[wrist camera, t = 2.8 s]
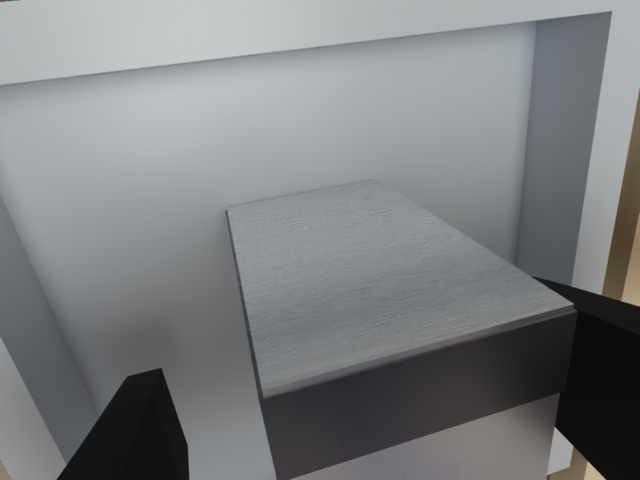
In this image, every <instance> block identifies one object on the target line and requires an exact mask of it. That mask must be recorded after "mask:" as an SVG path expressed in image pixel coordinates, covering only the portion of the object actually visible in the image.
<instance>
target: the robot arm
mask: <svg viewBox="0 0 640 480" xmlns="http://www.w3.org/2000/svg"><path fill="white" fill-rule="evenodd" d="M531 277H532V278H534V279H535V280H537V281H538V282H540V283H542V284H543V285H545V286H546V287H548V288H549V289H551V290H553V291H554V292H556V293H557V294H559V295H561V296H562V297H564V298H565V299H567V300H568V301H570V302H572V303H573V304H574V309H575V310H577V311H578V315H577V321H576V327H575V333H574V339H573V345H572V351H571V357H570V363H569V369H568V375H567V381H566V387H565V391H563V392H560V396H559V402H558V408H557V415H556V421H555V428H556V429H557V430H558V431H559V432H560V433H561V434H562V435H563V436H564V437H565V438H566V439H567V440H568V441H569V442H570V443H571V444H572V445H573V446H574V447H575V448H576V449H577V450H578V452H579V453H580V454H581V455H582V456H583V457H584V458H585V459H586V460H587V461H588V462H589V463H590V464H591V465H592V466H593V467H594V468H595V469H596V470H597V471H598V472H599V473H600V474H601V475H602V476H603V477H604V478H605V479H606V480H640V306H636V305H633V304H629V303H626V302H623V301H619V300H616V299H613V298H609V297H606V296H602V295H599V294H596V293H592V292H589V291H585V290H582V289H579V288H575V287H572V286H568V285H565V284H561V283H558V282H554V281H550V280H546V279H542V278H538V277H533V276H531ZM56 480H190V478H189V456H188V444H187V441H186V438H185V436H184V433H183V430H182V427H181V424H180V421H179V418H178V415H177V412H176V409H175V406H174V403H173V400H172V397H171V394H170V391H169V389H168V386H167V383H166V380H165V377H164V374H163V371H162V368H158V369H154V370H150V371H146V372H142V373H138V374H134V375H131V376H127V377H126V379H125V380H124V382H123V383H122V384H121V386H120V387H119V389H118V390H117V392H116V393H115V395H114V396H113V398H112V399H111V401H110V402H109V404H108V405H107V407H106V408H105V410H104V411H103V413H102V414H101V416H100V417H99V419H98V420H97V422H96V423H95V424H94V426H93V427H92V429H91V430H90V432H89V433H88V435H87V436H86V438H85V439H84V441H83V442H82V444H81V445H80V447H79V448H78V449H77V451H76V452H75V454H74V455H73V457H72V458H71V459H70V461H69V462H68V464H67V465H66V467H65V468H64V469H63V471H62V472H61V474H60V475H59V477H58V478H57V479H56Z"/></svg>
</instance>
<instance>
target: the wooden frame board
mask: <svg viewBox="0 0 640 480" xmlns="http://www.w3.org/2000/svg"><path fill="white" fill-rule="evenodd" d="M601 295H602V296H606V297H609V298H613V299H616V300H619V301H623V302H626V303H629V304H633V305H636V306H640V89H639V95H638V100H637V106H636V111H635V116H634V122H633V127H632V133H631V138H630V143H629V149H628V154H627V160H626V165H625V170H624V176H623V181H622V187H621V192H620V197H619V203H618V208H617V214H616V219H615V224H614V230H613V235H612V241H611V246H610V251H609V257H608V262H607V268H606V273H605V278H604V284H603V289H602V294H601ZM549 480H606V479H605V478H604V477H603V476H602V475H601V474H600V473H599V472H598V471H597V470H596V469H595V468H594V467H593V466H592V465H591V464H590V463H589V462H588V461H587V460H586V459H585V458H584V457H583V456H582V455H581V454H580V453H579V452H578V450H577V449H576V448H575V447H574V446H573V451H572V456H571V462H570V467H568V468H565V469H562V470H560V471H557V472H554V473H551V474H550V475H549Z"/></svg>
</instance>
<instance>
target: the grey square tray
mask: <svg viewBox="0 0 640 480" xmlns="http://www.w3.org/2000/svg"><path fill="white" fill-rule="evenodd" d="M639 89H640V0H19V1H7V2H0V460H1V462H2V464H3V465H4V467H5V469H6V470H7V472H8V474H9V475H10V477H11V479H12V480H56V479H57V478H58V477H59V475H60V474H61V472H62V471H63V469H64V468H65V467H66V465H67V464H68V462H69V461H70V459H71V458H72V457H73V455H74V454H75V452H76V451H77V449H78V448H79V447H80V445H81V444H82V442H83V441H84V439H85V438H86V436H87V435H88V433H89V432H90V430H91V429H92V427H93V426H94V424H95V423H96V422H97V420H98V419H99V417H100V416H101V414H102V413H103V411H104V410H105V408H106V407H107V405H108V404H109V402H110V401H111V399H112V398H113V396H114V395H115V393H116V392H117V390H118V389H119V387H120V386H121V384H122V383H123V382H124V380H125V379H126V377H127V376H131V375H134V374H138V373H142V372H146V371H150V370H154V369H158V368H162V371H163V374H164V377H165V380H166V383H167V386H168V389H169V391H170V394H171V397H172V400H173V403H174V406H175V409H176V412H177V415H178V418H179V421H180V424H181V427H182V430H183V433H184V436H185V438H186V441H187V444H188V456H189V478H190V480H277V478H276V474H275V469H274V465H273V461H272V456H271V452H270V447H269V443H268V439H267V434H266V430H265V426H264V421H263V417H262V412H261V408H260V404H259V399H258V393H257V387H256V382H255V376H254V370H253V365H252V359H251V354H250V348H249V342H248V337H247V331H246V325H245V320H244V314H243V308H242V303H241V297H240V291H239V286H238V280H237V274H236V269H235V263H234V257H233V252H232V246H231V240H230V235H229V229H228V224H227V218H226V212H225V211H227V206H233V205H238V204H243V203H249V202H254V201H259V200H265V199H270V198H275V197H280V196H286V195H291V194H296V193H302V192H307V191H312V190H318V189H323V188H328V187H333V186H339V185H344V184H349V183H355V182H360V181H365V180H371V179H378V180H379V181H381V182H382V183H384V184H385V185H387V186H389V187H390V188H392V189H393V190H395V191H396V192H398V193H400V194H401V195H403V196H404V197H406V198H407V199H409V200H411V201H412V202H414V203H415V204H417V205H419V206H420V207H422V208H423V209H425V210H426V211H428V212H430V213H431V214H433V215H434V216H436V217H437V218H439V219H441V220H442V221H444V222H445V223H447V224H449V225H450V226H452V227H453V228H455V229H456V230H458V231H460V232H461V233H463V234H464V235H466V236H467V237H469V238H471V239H472V240H474V241H475V242H477V243H478V244H480V245H482V246H483V247H485V248H486V249H488V250H490V251H491V252H493V253H494V254H496V255H497V256H499V257H501V258H502V259H504V260H505V261H507V262H508V263H510V264H512V265H513V266H515V267H516V268H518V269H519V270H521V271H523V272H524V273H526V274H527V275H529V276H533V277H538V278H542V279H546V280H550V281H554V282H558V283H561V284H565V285H568V286H572V287H575V288H579V289H582V290H585V291H589V292H592V293H596V294H599V295H601V294H602V289H603V284H604V278H605V273H606V268H607V262H608V257H609V251H610V246H611V241H612V235H613V230H614V224H615V219H616V214H617V208H618V203H619V197H620V192H621V187H622V181H623V176H624V170H625V165H626V160H627V154H628V149H629V143H630V138H631V133H632V127H633V122H634V116H635V111H636V106H637V100H638V95H639ZM572 451H573V445H572V444H571V443H570V442H569V441H568V440H567V439H566V438H565V437H564V436H563V435H562V434H561V433H560V432H559V431H558V430H557V429H556V428H555V427H554V433H553V439H552V446H551V452H550V458H549V464H548V471H547V475H549V474H551V473H554V472H557V471H560V470H562V469H565V468H568V467H570V462H571V456H572Z"/></svg>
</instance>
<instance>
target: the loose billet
mask: <svg viewBox="0 0 640 480" xmlns="http://www.w3.org/2000/svg"><path fill="white" fill-rule="evenodd" d="M225 212H226V218H227V224H228V229H229V235H230V240H231V246H232V252H233V257H234V263H235V269H236V274H237V280H238V286H239V291H240V297H241V303H242V308H243V314H244V320H245V325H246V331H247V337H248V342H249V348H250V354H251V359H252V365H253V370H254V376H255V382H256V387H257V393H258V399H259V404H260V408H261V412H262V417H263V421H264V426H265V430H266V434H267V439H268V443H269V447H270V452H271V456H272V461H273V465H274V469H275V474H276V478H277V480H546V477H547V471H548V464H549V458H550V452H551V446H552V439H553V433H554V427H555V421H556V415H557V408H558V402H559V396H560V392H563V391H565V387H566V381H567V375H568V369H569V363H570V357H571V351H572V345H573V339H574V333H575V327H576V321H577V315H578V311H577V310H575V309H574V304H573V303H572V302H570V301H568V300H567V299H565V298H564V297H562V296H561V295H559V294H557V293H556V292H554V291H553V290H551V289H549V288H548V287H546V286H545V285H543V284H542V283H540V282H538V281H537V280H535V279H534V278H532V277H531V276H529V275H527V274H526V273H524V272H523V271H521V270H519V269H518V268H516V267H515V266H513V265H512V264H510V263H508V262H507V261H505V260H504V259H502V258H501V257H499V256H497V255H496V254H494V253H493V252H491V251H490V250H488V249H486V248H485V247H483V246H482V245H480V244H478V243H477V242H475V241H474V240H472V239H471V238H469V237H467V236H466V235H464V234H463V233H461V232H460V231H458V230H456V229H455V228H453V227H452V226H450V225H449V224H447V223H445V222H444V221H442V220H441V219H439V218H437V217H436V216H434V215H433V214H431V213H430V212H428V211H426V210H425V209H423V208H422V207H420V206H419V205H417V204H415V203H414V202H412V201H411V200H409V199H407V198H406V197H404V196H403V195H401V194H400V193H398V192H396V191H395V190H393V189H392V188H390V187H389V186H387V185H385V184H384V183H382V182H381V181H379V180H378V179H371V180H365V181H360V182H355V183H349V184H344V185H339V186H333V187H328V188H323V189H318V190H312V191H307V192H302V193H296V194H291V195H286V196H280V197H275V198H270V199H265V200H259V201H254V202H249V203H243V204H238V205H233V206H227V211H225Z"/></svg>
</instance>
